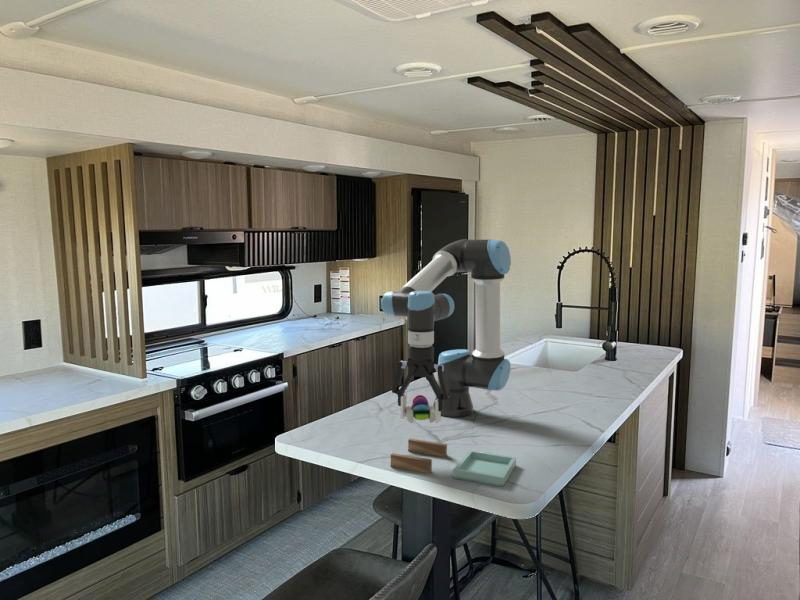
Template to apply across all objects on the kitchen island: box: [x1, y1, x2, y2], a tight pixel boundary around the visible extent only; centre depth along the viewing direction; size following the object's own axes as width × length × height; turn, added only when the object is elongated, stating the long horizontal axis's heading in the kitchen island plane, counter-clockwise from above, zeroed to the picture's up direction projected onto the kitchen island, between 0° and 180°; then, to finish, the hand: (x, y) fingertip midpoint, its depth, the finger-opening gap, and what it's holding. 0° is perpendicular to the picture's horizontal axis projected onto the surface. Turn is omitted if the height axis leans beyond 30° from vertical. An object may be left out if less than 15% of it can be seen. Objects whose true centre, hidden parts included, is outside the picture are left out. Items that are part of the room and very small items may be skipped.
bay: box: [390, 438, 448, 474], centre depth 179 cm, size 15×12×4 cm
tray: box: [452, 449, 517, 488], centre depth 171 cm, size 16×14×2 cm
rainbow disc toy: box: [406, 394, 435, 424], centre depth 177 cm, size 8×10×7 cm
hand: (420, 419), depth 178 cm, fingers closed on rainbow disc toy, 10 cm apart
